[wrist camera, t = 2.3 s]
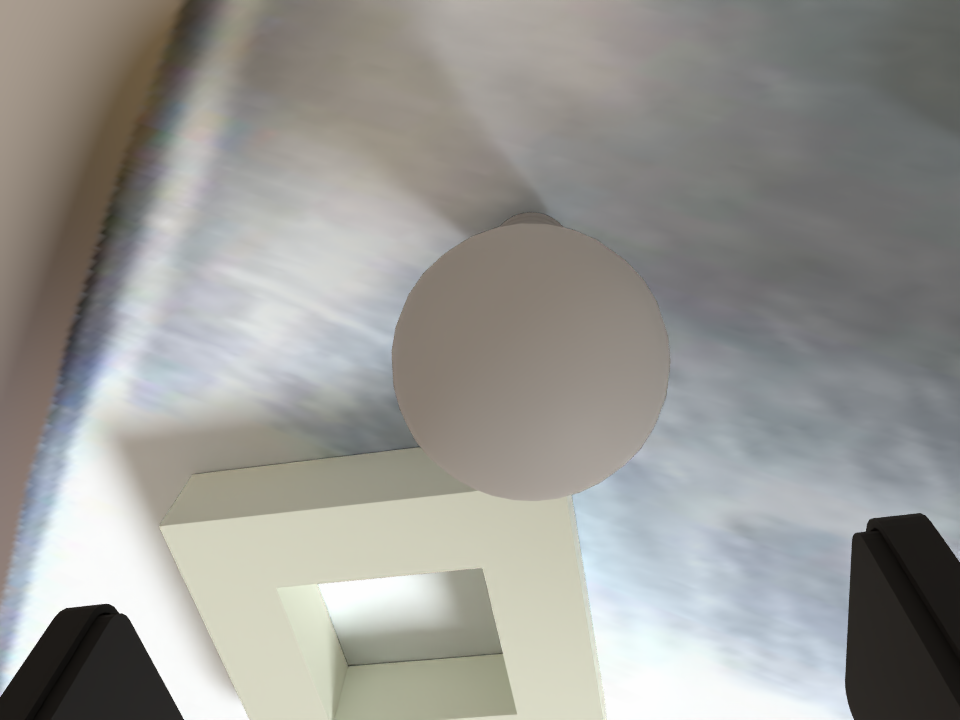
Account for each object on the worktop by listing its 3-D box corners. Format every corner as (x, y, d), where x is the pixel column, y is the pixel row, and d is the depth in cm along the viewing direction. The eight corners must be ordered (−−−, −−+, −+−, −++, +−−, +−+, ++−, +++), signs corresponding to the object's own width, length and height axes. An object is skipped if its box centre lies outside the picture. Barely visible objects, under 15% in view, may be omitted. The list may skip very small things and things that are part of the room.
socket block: (561, 430, 28) (563, 481, 25) (604, 699, 34) (610, 763, 31) (192, 474, 30) (158, 526, 27) (298, 721, 36) (279, 783, 33)
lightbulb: (551, 100, 22) (563, 217, 13) (668, 259, 24) (756, 465, 15) (394, 226, 24) (301, 410, 15) (513, 363, 26) (501, 605, 17)
